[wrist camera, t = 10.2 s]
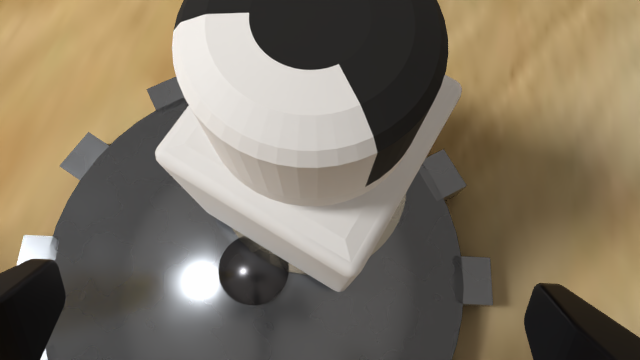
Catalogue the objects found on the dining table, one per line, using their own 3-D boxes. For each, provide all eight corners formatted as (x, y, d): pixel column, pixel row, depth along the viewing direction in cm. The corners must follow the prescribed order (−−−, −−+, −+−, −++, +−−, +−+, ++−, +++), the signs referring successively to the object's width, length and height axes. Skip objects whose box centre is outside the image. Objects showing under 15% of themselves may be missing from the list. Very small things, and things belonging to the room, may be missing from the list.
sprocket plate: (568, 387, 20) (590, 393, 18) (113, 642, 17) (92, 674, 16) (357, 21, 25) (360, 0, 24) (-16, 171, 23) (-42, 159, 21)
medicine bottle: (288, 86, 22) (259, -163, 11) (420, 158, 21) (542, -33, 10) (202, 210, 21) (58, 68, 9) (341, 296, 19) (379, 257, 8)
